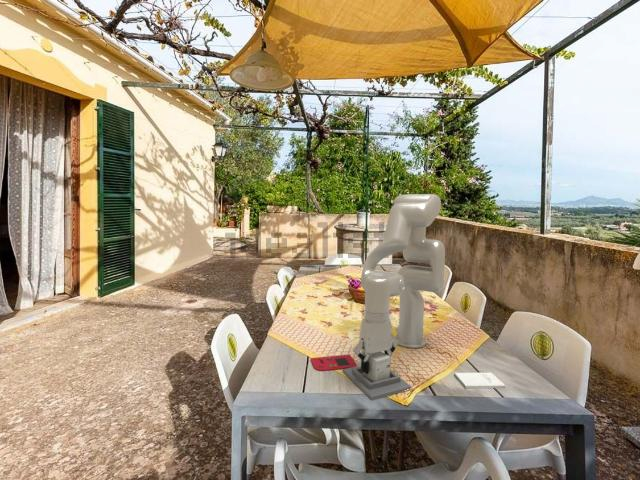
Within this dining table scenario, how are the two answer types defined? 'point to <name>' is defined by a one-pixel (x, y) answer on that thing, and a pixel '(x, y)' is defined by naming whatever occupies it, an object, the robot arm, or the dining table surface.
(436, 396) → the dining table surface
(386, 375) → the skincare box
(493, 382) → the external hard drive
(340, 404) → the dining table surface
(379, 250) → the robot arm
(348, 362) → the handheld gaming console
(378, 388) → the charging dock
